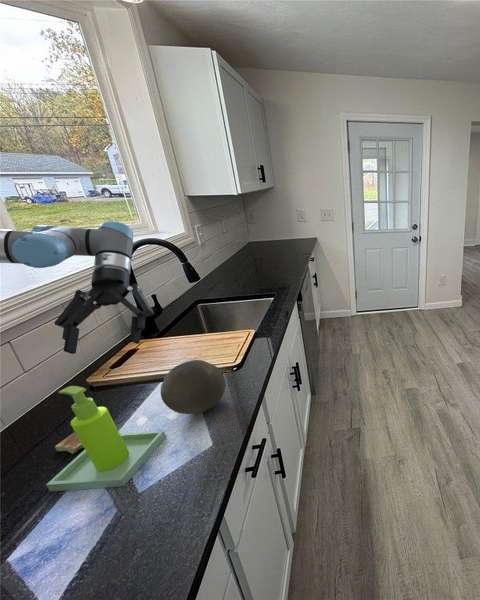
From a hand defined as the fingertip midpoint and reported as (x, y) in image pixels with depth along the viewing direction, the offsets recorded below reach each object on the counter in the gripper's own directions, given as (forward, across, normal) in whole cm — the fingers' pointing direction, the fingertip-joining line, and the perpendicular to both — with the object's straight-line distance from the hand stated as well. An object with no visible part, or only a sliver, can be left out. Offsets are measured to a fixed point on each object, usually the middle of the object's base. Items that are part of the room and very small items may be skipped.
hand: (103, 347), depth 78 cm
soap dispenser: (+27, +2, +5) cm, 27 cm away
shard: (+19, -10, +13) cm, 25 cm away
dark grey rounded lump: (+18, +18, +14) cm, 29 cm away
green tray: (+27, +2, +5) cm, 27 cm away
